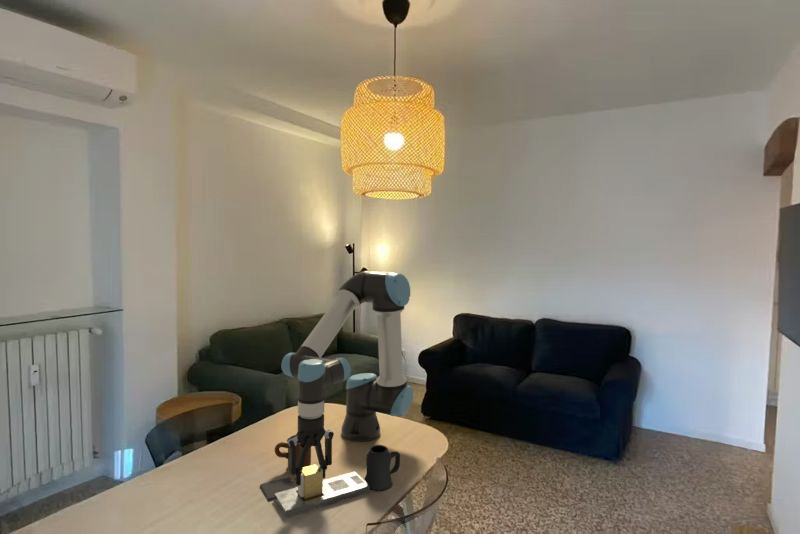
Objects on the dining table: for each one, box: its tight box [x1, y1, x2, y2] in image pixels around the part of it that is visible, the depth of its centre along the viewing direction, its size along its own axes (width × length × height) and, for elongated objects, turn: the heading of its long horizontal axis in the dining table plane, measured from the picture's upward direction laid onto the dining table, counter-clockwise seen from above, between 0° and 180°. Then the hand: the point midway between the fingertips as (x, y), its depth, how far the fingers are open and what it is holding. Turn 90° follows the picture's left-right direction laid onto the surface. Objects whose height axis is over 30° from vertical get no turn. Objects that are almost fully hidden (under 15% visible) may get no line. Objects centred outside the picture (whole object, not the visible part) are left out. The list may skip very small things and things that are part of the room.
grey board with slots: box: [274, 471, 371, 519], centre depth 138 cm, size 26×10×2 cm, turn 122°
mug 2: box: [363, 444, 401, 493], centre depth 146 cm, size 12×9×11 cm
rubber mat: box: [259, 476, 297, 501], centre depth 141 cm, size 9×9×1 cm
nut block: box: [299, 463, 322, 501], centre depth 136 cm, size 5×5×9 cm
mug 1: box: [274, 434, 312, 468], centre depth 154 cm, size 12×8×9 cm, turn 116°
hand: (310, 492), depth 136 cm, fingers closed on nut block, 5 cm apart
